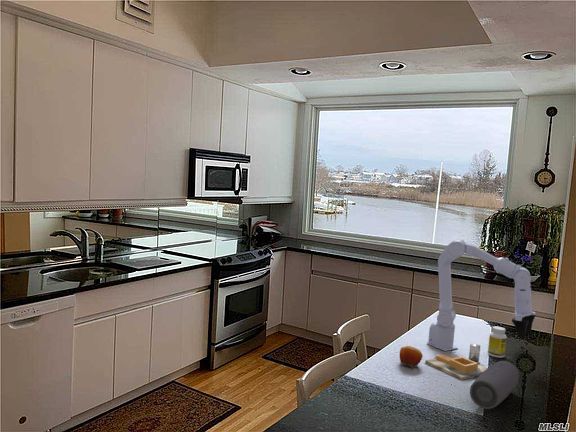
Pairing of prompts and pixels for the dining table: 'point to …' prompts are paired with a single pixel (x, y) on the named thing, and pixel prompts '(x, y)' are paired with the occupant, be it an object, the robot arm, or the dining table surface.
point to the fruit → (410, 356)
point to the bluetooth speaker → (494, 384)
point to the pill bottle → (497, 342)
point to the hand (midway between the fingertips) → (524, 335)
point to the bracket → (459, 363)
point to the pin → (474, 352)
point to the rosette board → (453, 371)
